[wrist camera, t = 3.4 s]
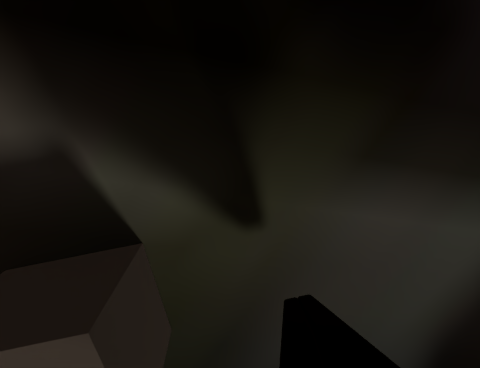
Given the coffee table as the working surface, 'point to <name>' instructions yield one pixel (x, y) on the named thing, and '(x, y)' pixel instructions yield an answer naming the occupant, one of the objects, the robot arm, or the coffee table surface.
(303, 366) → the robot arm
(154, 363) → the plug
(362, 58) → the coffee table surface
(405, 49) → the coffee table surface
